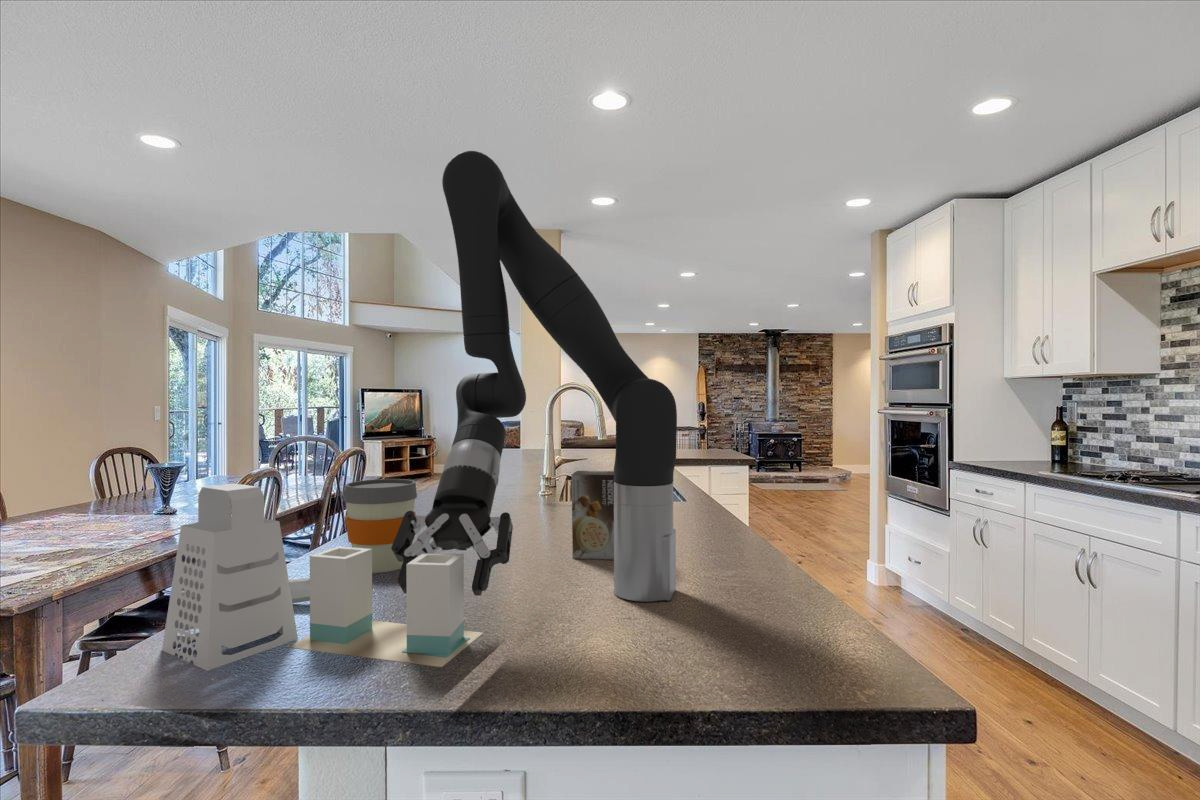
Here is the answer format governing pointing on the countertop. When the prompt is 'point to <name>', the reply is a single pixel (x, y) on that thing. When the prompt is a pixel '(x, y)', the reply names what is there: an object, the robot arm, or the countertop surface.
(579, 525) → the coffee box
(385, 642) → the pin board
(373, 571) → the reusable coffee cup
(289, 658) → the countertop surface
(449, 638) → the sleeve
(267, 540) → the grater
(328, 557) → the seated sleeve
